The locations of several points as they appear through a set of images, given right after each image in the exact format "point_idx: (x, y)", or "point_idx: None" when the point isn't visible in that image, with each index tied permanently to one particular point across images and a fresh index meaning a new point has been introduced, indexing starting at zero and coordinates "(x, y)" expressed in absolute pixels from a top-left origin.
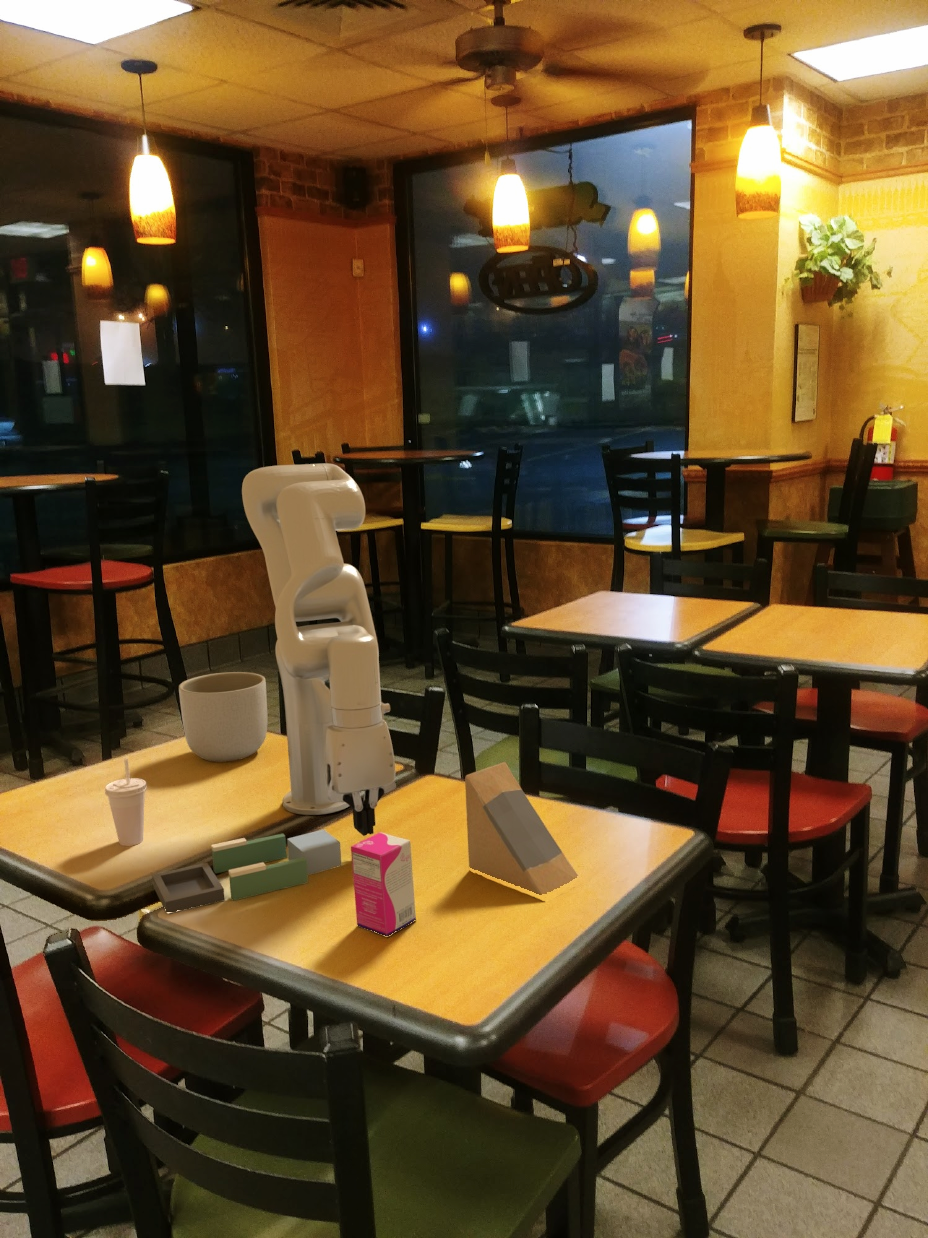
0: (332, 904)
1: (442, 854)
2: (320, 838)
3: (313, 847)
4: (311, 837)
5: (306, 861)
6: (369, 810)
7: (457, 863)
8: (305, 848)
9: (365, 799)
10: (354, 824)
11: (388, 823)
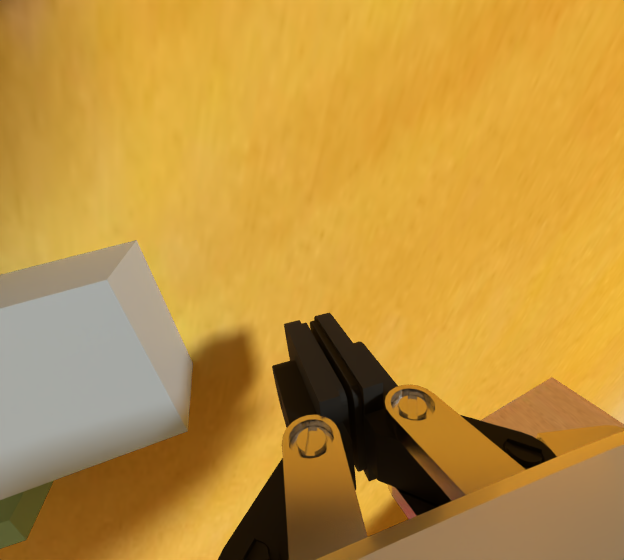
0: (144, 545)
1: (461, 353)
2: (88, 385)
3: (51, 466)
4: (29, 365)
5: (28, 534)
6: (370, 476)
7: (462, 400)
8: (5, 474)
9: (400, 447)
10: (276, 381)
11: (451, 39)
